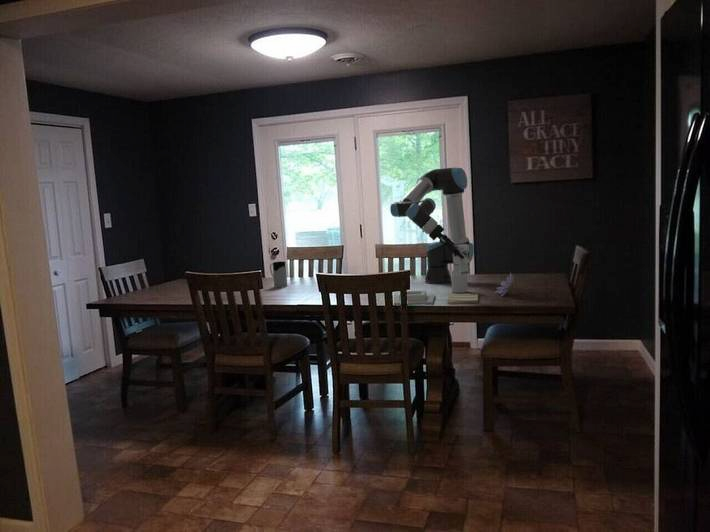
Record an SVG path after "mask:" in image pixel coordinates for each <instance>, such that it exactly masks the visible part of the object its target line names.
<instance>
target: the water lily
mask: <svg viewBox="0 0 710 532" xmlns="http://www.w3.org/2000/svg"><path fill="white" fill-rule="evenodd" d="M514 277H515V275H514V274H513V275H512V273H510V274H509V276H506V280H505V279H503V280H502V281H500V285H501V286H498V287H496V291H494V292H493V293H494V294H498V293H499V294H501V295H500V297H501V296H502V297H503V296H505V295H506V293H507V292H508V291H509V290H510V291H511V292H512V294H513V295H516V292H515V291H514V290H513V289H512V288H511V285H512V284H513V281H514Z"/></svg>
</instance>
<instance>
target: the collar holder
mask: <svg viewBox="0 0 710 532" xmlns="http://www.w3.org/2000/svg"><path fill="white" fill-rule="evenodd" d="M407 291H408V292H407V300H408V305H407V306H414V305H413V304H434V302H433V301H435V299H434V298H436V294H435V293H434V294H433V293H432V294H431V293H429V294H427V290H407ZM393 299H394V306H395V305H396V306H401V305H400V294H395V295H394V297H393V298H392V300H393Z"/></svg>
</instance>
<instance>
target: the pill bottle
mask: <svg viewBox="0 0 710 532" xmlns="http://www.w3.org/2000/svg"><path fill="white" fill-rule="evenodd" d="M450 275H451V279H452V281H451V293H453V294H466V293H467V292H468V275H461V276H459V275H455V274H454V268H452V269H451V272H450Z"/></svg>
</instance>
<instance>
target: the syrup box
mask: <svg viewBox="0 0 710 532" xmlns="http://www.w3.org/2000/svg"><path fill="white" fill-rule="evenodd" d="M454 246H455V247H456V248H457V249H458V250H459V251H461V252H462V253H463V254H464V255H465V256H466V257H467V258H468V259H469V245H468V244H458V245H454ZM470 263H471V262H469V263H468V264H467V265H466V264H465V263H464V262H463V261H462V260H461V259H459V258H458V257H457V256H454V254H453V264H452V265H453V269H454V274H455V275H459V276H461V275H467V276H468V275H470V274H471V269H470V268H471V267H470Z"/></svg>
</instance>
